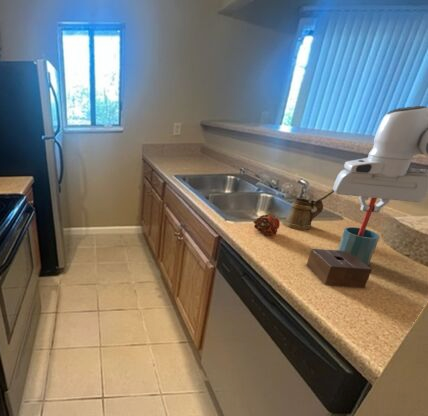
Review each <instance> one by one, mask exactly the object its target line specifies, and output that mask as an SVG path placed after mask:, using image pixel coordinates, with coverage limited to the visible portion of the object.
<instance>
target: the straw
mask: <svg viewBox="0 0 428 416" xmlns="http://www.w3.org/2000/svg"><path fill="white" fill-rule="evenodd" d="M377 200H378V198H370V199H369V203H368V205H369V206H370V208H369V211H365V214H364V217H363V220H362V222H361V225H360V227H359V228H360V230H359V233H358V236H361V237H363V234H364V232H365V229H367V226H368V224H369V221H370V218H371V216H372V213H373V212H372V210H373V208H374V205H376V202H377Z"/></svg>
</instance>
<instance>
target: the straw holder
mask: <svg viewBox="0 0 428 416" xmlns="http://www.w3.org/2000/svg"><path fill="white" fill-rule="evenodd" d="M306 266H307V267H308V268H309V269H310V270H311V272H312V273H313V274H315V276H316V277H317V278H318V279H319V280H320V281H321V282H322V283H323V284H324V285H328V286H341V287H353V288H365V287H366V285H367V283H368V281H369V277H370V276H371V273H372V270H373V269H372V268H371V267H369V265H368V266H367V265H366V264H364V263H363V262H362V261H360V260H359V259H358V258H356V257H355V256H354V255H352V254H351V253H350V252H348V251H340V250H338V249H322V248H321V249H320V248H311V249H310V253H309V255H308V260H307V262H306Z"/></svg>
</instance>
